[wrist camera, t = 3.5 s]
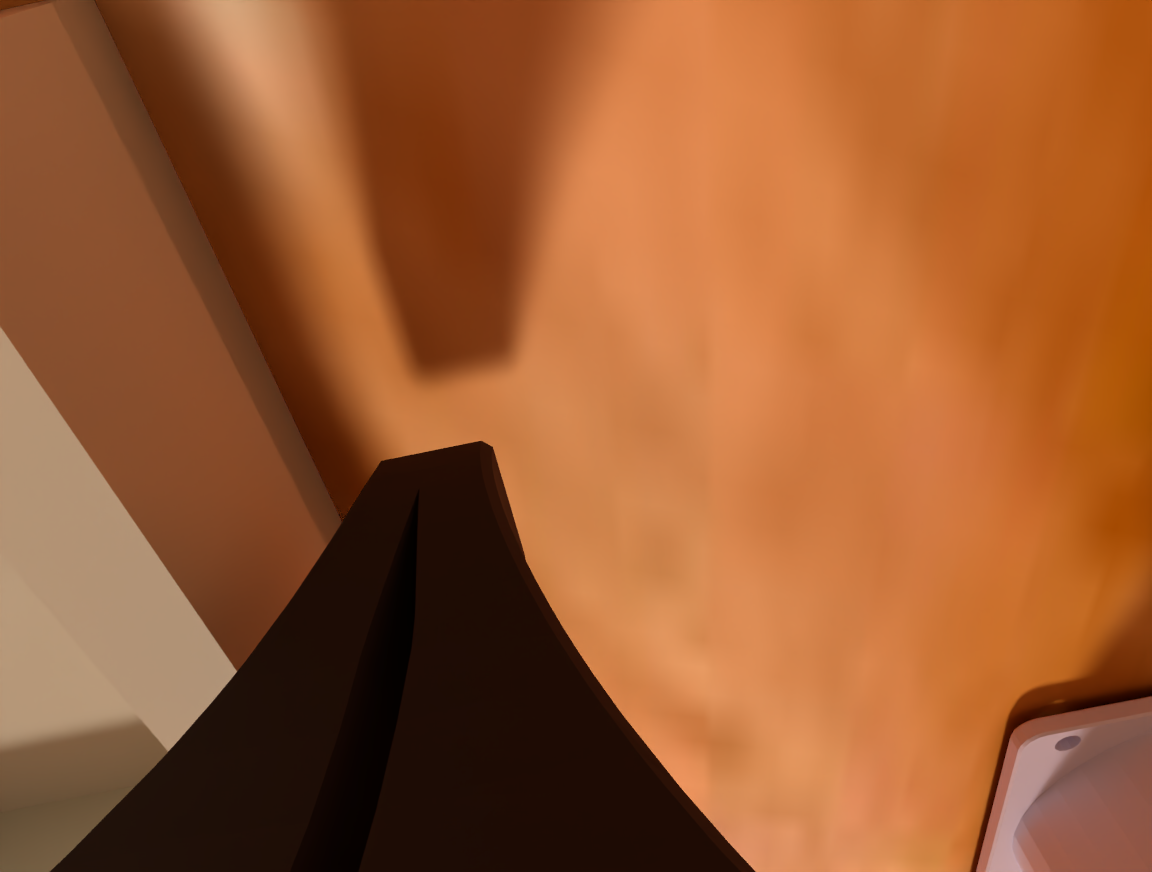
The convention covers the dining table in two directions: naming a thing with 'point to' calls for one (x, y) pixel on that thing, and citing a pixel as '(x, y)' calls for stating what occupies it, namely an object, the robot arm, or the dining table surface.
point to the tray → (121, 446)
